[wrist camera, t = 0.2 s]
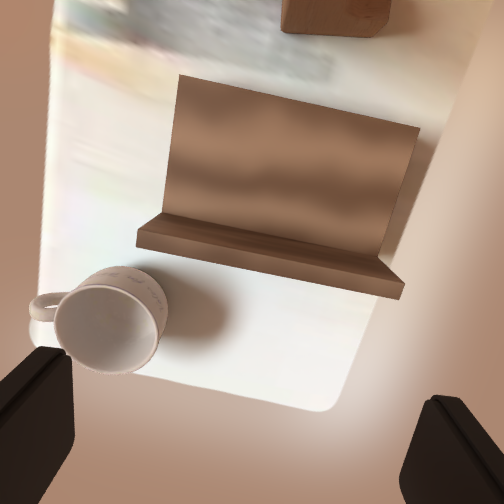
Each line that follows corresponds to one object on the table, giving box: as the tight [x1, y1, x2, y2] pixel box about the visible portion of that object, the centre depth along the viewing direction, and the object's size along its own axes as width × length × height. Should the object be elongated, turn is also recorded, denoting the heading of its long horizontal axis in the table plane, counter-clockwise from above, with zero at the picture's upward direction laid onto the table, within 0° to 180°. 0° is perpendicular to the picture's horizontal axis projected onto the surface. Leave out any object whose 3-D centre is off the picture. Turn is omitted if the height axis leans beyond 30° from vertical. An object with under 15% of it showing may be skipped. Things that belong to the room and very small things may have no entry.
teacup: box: [29, 266, 168, 375], centre depth 38 cm, size 14×11×8 cm
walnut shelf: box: [136, 74, 420, 300], centre depth 32 cm, size 14×22×12 cm, turn 78°
